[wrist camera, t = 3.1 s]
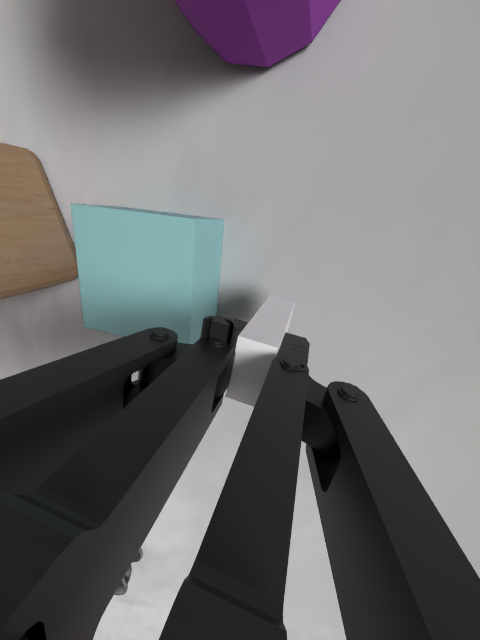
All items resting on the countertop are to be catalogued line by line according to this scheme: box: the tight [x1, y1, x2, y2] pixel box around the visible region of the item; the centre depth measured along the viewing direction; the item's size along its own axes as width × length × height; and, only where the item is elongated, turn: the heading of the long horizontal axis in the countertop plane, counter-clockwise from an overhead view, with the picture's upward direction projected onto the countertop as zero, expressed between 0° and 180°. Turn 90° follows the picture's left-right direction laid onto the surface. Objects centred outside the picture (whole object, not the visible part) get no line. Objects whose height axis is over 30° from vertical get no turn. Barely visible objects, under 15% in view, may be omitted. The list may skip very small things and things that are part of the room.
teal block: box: [71, 203, 224, 344], centre depth 19 cm, size 8×8×5 cm
